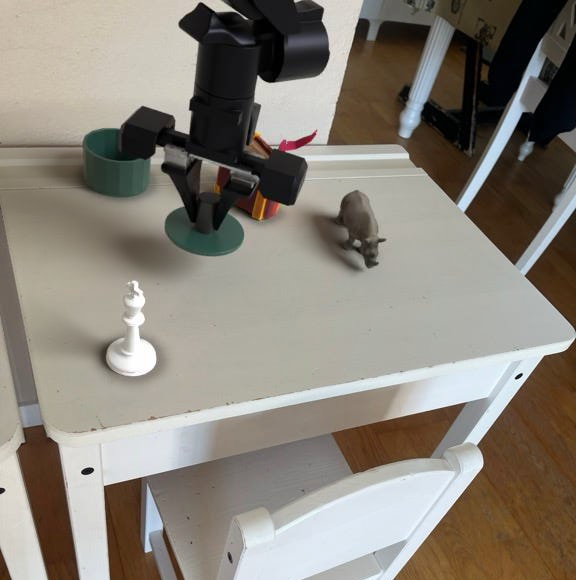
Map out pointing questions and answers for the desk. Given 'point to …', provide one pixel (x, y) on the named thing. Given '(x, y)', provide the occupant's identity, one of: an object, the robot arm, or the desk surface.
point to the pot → (113, 165)
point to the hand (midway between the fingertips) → (205, 224)
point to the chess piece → (131, 339)
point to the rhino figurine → (360, 226)
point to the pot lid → (204, 229)
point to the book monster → (257, 203)
